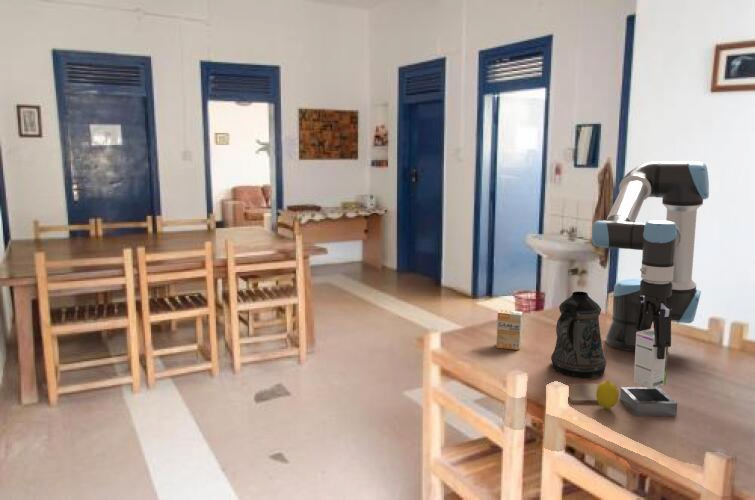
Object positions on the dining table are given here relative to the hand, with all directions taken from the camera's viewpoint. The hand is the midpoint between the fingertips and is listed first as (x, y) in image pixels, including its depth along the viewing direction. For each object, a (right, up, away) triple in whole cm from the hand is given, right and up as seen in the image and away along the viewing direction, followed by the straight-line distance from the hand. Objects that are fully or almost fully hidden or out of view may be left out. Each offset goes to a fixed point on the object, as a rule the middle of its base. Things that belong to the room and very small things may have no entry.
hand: (650, 363), depth 152 cm
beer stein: (-10, -8, +28) cm, 30 cm away
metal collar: (0, -12, +2) cm, 12 cm away
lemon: (-11, -13, +1) cm, 17 cm away
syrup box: (0, -6, +1) cm, 6 cm away
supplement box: (-26, -4, +50) cm, 56 cm away
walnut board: (-14, -11, +10) cm, 20 cm away
